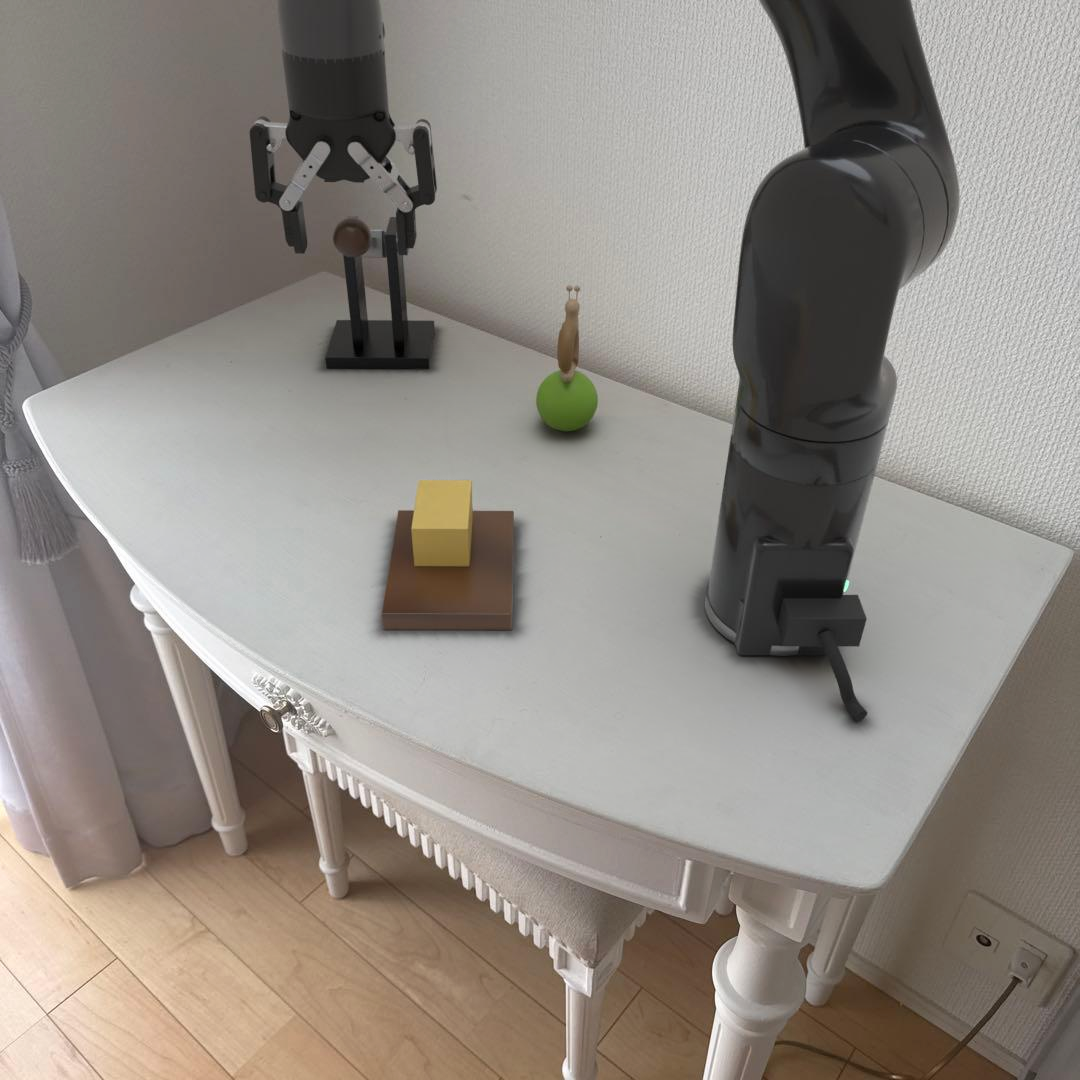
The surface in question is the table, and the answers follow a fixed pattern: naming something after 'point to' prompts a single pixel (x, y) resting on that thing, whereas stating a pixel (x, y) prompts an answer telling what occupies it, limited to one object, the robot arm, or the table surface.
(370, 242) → the brown knob lever
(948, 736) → the table surface
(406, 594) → the board
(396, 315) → the slicer bracket
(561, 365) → the snail figurine
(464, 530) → the butter
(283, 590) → the table surface
